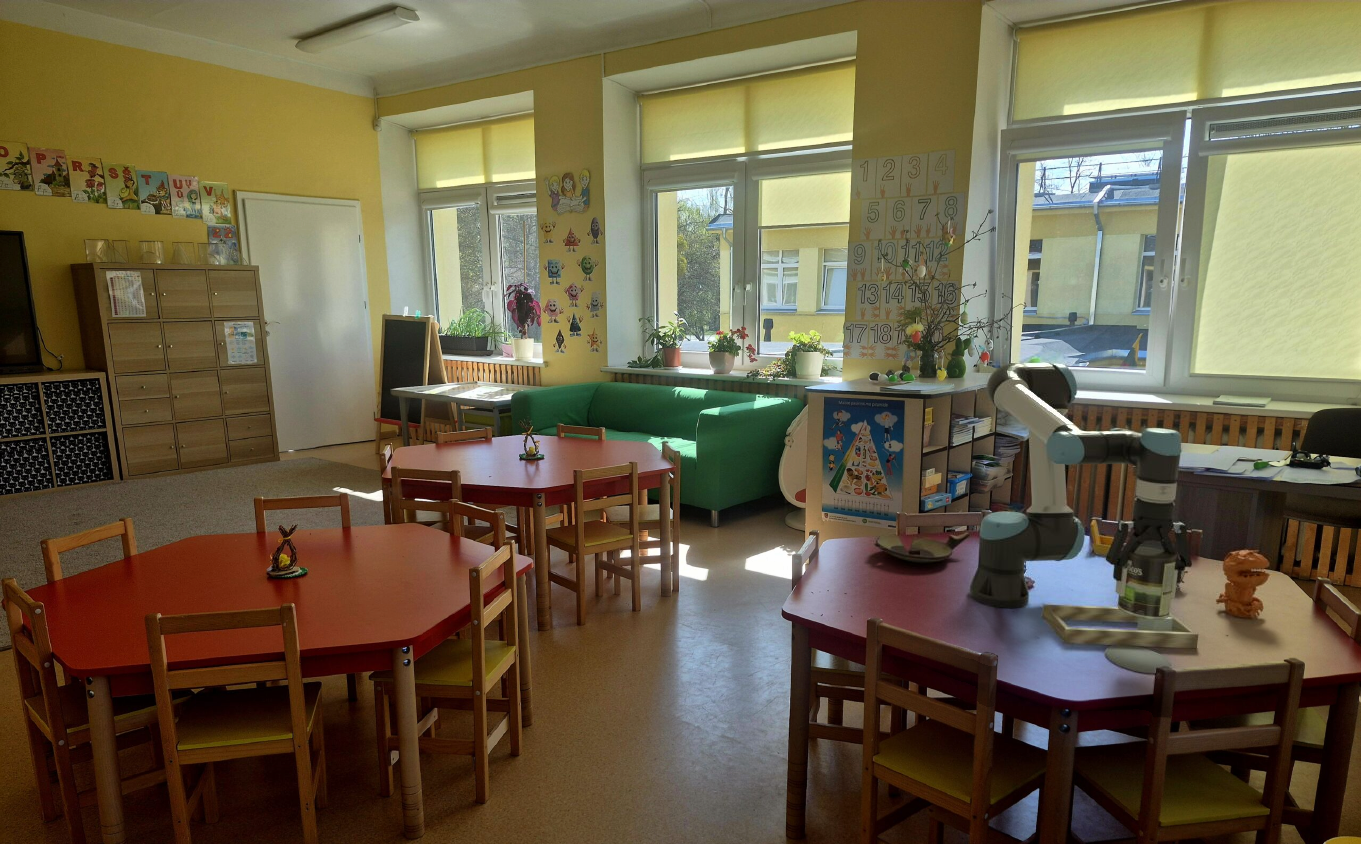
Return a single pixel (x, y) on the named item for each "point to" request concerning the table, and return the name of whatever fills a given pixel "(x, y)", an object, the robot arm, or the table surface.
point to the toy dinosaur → (1243, 583)
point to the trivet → (1136, 658)
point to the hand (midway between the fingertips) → (1144, 594)
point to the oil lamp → (920, 547)
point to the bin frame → (1056, 613)
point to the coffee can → (1148, 583)
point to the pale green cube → (1155, 624)
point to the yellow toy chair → (1100, 540)
